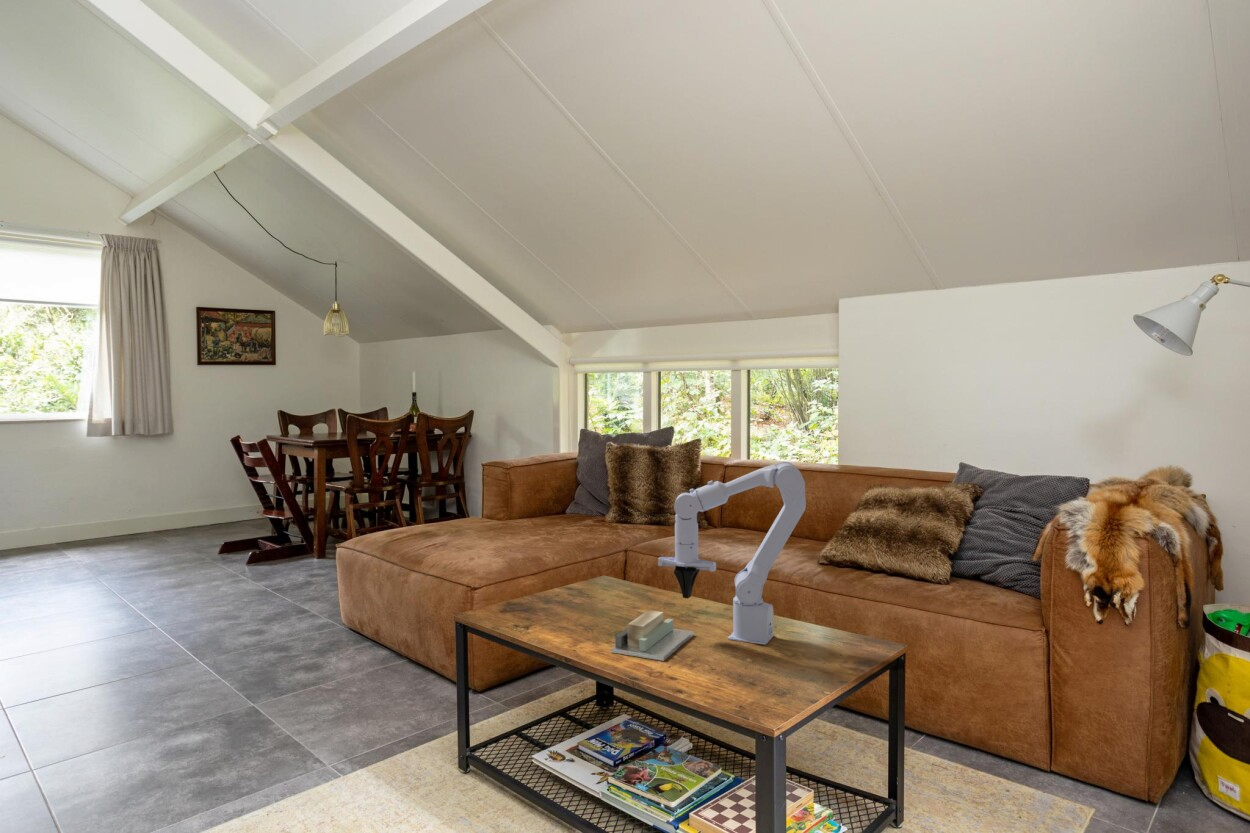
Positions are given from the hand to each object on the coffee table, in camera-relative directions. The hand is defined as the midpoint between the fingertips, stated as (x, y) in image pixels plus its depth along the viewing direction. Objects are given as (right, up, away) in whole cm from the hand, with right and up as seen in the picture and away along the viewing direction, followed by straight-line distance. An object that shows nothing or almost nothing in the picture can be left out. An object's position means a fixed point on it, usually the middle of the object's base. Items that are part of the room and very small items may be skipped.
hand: (686, 597), depth 184 cm
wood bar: (-10, -9, -5) cm, 14 cm away
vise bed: (-8, -10, -6) cm, 14 cm away
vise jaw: (-8, -9, -6) cm, 13 cm away
